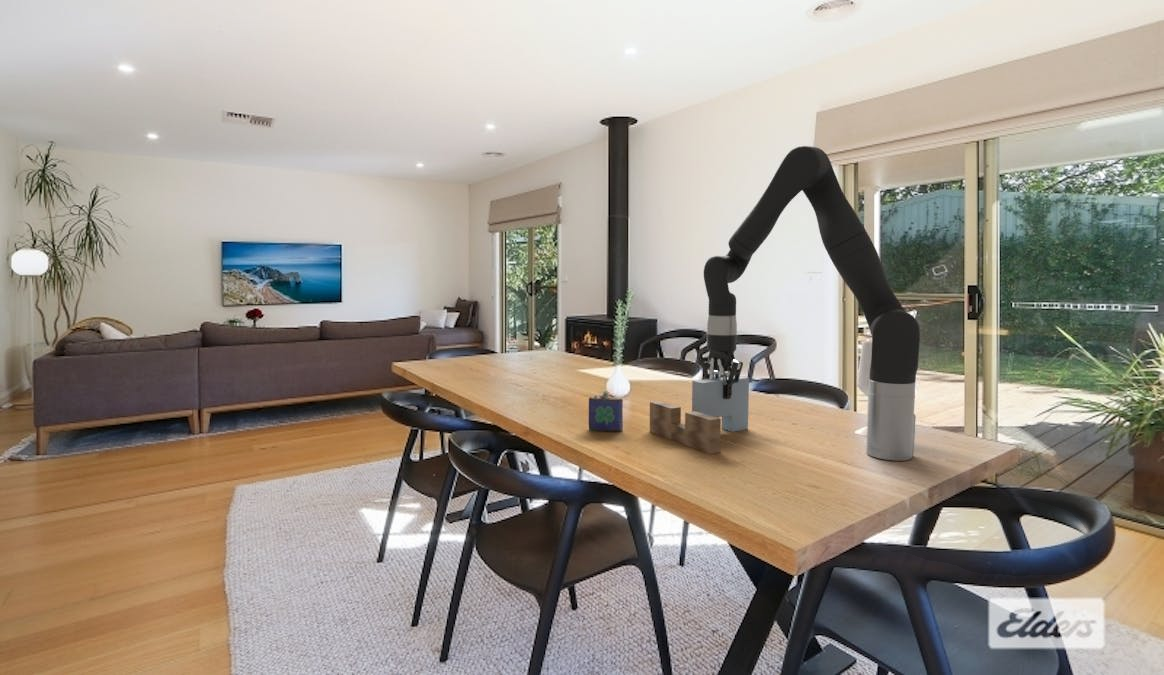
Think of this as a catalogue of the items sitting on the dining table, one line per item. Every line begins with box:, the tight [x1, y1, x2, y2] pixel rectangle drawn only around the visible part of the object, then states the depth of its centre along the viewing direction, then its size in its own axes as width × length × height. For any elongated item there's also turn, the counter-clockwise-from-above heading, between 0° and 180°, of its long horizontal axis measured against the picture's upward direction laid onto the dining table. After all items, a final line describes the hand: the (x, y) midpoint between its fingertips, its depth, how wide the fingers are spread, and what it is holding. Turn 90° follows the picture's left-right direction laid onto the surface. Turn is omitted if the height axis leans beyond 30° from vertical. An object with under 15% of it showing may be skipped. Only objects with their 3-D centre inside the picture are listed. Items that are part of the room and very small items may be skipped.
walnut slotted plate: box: [649, 400, 722, 455], centre depth 148 cm, size 24×3×8 cm, turn 29°
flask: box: [588, 391, 624, 433], centre depth 159 cm, size 9×3×11 cm, turn 80°
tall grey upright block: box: [691, 375, 750, 433], centre depth 158 cm, size 4×16×14 cm, turn 119°
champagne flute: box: [854, 340, 872, 437], centre depth 154 cm, size 7×7×24 cm
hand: (720, 396), depth 158 cm, fingers closed on tall grey upright block, 4 cm apart
